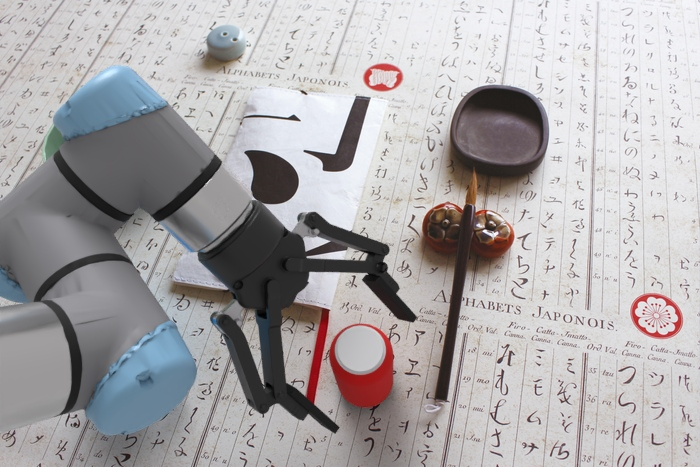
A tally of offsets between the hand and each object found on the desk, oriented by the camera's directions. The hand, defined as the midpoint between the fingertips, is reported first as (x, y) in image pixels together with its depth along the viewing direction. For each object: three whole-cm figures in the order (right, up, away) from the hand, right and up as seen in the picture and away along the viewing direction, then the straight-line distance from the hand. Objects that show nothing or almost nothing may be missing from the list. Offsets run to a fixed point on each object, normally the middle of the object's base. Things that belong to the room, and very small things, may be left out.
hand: (371, 370), depth 57 cm
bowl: (-36, +25, +23) cm, 49 cm away
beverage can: (0, -3, +6) cm, 6 cm away
